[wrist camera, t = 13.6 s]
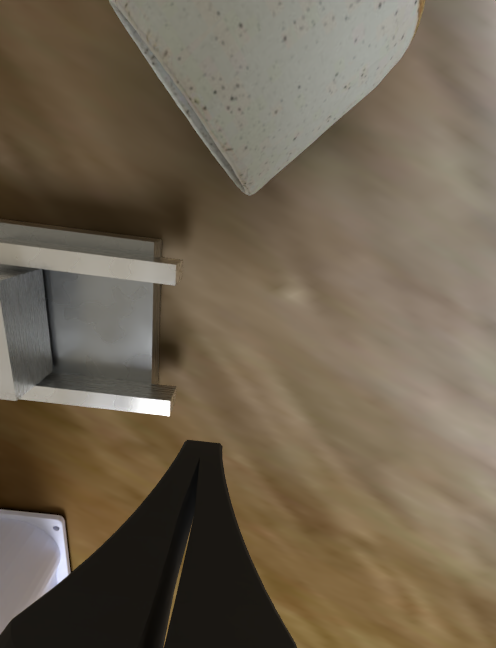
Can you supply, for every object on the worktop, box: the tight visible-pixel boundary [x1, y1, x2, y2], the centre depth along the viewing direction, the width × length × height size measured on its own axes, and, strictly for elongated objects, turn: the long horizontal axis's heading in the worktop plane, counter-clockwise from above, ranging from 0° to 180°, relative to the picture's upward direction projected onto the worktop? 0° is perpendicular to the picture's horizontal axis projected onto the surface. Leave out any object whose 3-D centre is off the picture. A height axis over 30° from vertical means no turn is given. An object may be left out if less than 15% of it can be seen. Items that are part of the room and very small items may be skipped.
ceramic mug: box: [109, 0, 425, 195], centre depth 11 cm, size 11×8×8 cm
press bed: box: [0, 219, 183, 416], centre depth 17 cm, size 10×20×3 cm, turn 83°
